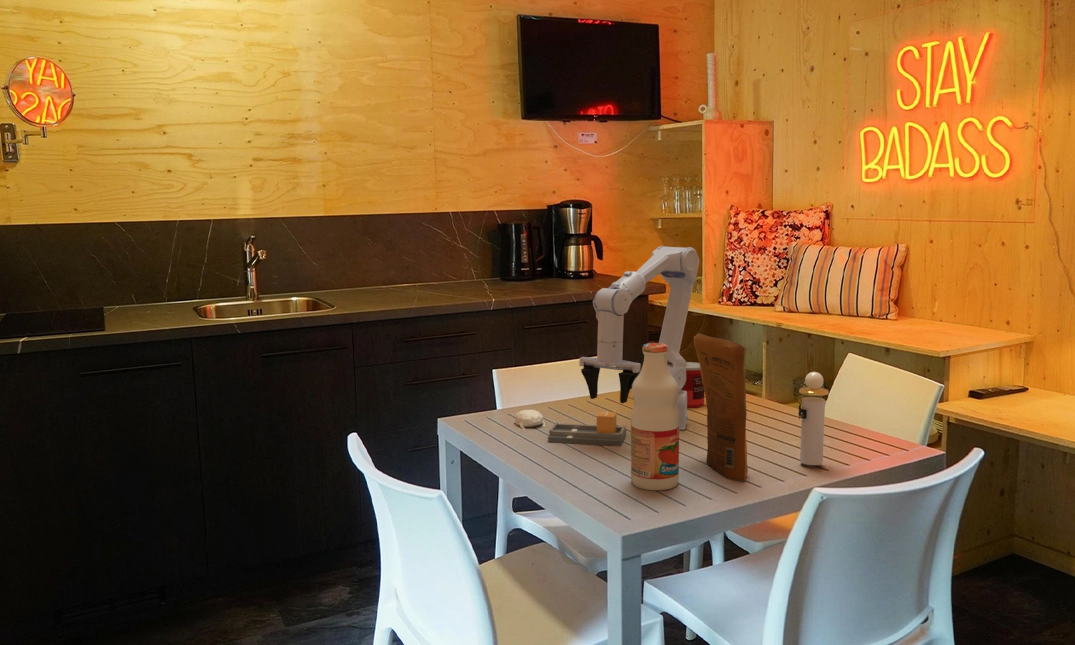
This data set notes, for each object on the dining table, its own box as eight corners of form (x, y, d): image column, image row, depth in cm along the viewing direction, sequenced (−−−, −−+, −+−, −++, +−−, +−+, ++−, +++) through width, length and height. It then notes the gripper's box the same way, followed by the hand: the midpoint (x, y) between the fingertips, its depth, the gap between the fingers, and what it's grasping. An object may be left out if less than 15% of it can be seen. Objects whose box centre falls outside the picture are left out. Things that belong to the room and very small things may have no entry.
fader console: (626, 433, 201) (626, 423, 201) (620, 446, 192) (620, 435, 191) (557, 430, 205) (557, 420, 205) (548, 442, 196) (547, 432, 195)
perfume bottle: (821, 460, 179) (824, 368, 176) (829, 469, 173) (833, 374, 170) (793, 460, 179) (796, 369, 176) (801, 469, 174) (804, 375, 171)
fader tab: (616, 430, 199) (616, 412, 198) (613, 435, 195) (613, 416, 194) (599, 429, 200) (599, 411, 199) (596, 434, 196) (596, 415, 195)
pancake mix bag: (727, 486, 165) (730, 346, 161) (689, 456, 183) (690, 330, 179) (759, 483, 166) (762, 344, 162) (718, 454, 185) (720, 328, 180)
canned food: (673, 400, 231) (674, 361, 230) (703, 401, 230) (704, 362, 229) (674, 408, 224) (674, 367, 222) (705, 408, 223) (705, 368, 221)
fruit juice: (637, 473, 173) (637, 339, 169) (683, 478, 170) (684, 342, 166) (625, 488, 165) (625, 348, 160) (672, 494, 161) (674, 350, 157)
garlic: (549, 427, 209) (549, 412, 208) (524, 431, 206) (524, 416, 205) (535, 420, 216) (534, 405, 215) (511, 423, 213) (510, 409, 212)
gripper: (573, 340, 191) (572, 399, 192) (631, 346, 183) (629, 407, 185) (588, 337, 197) (586, 394, 198) (645, 342, 189) (643, 401, 191)
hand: (608, 400), depth 192 cm, fingers open, 7 cm apart
